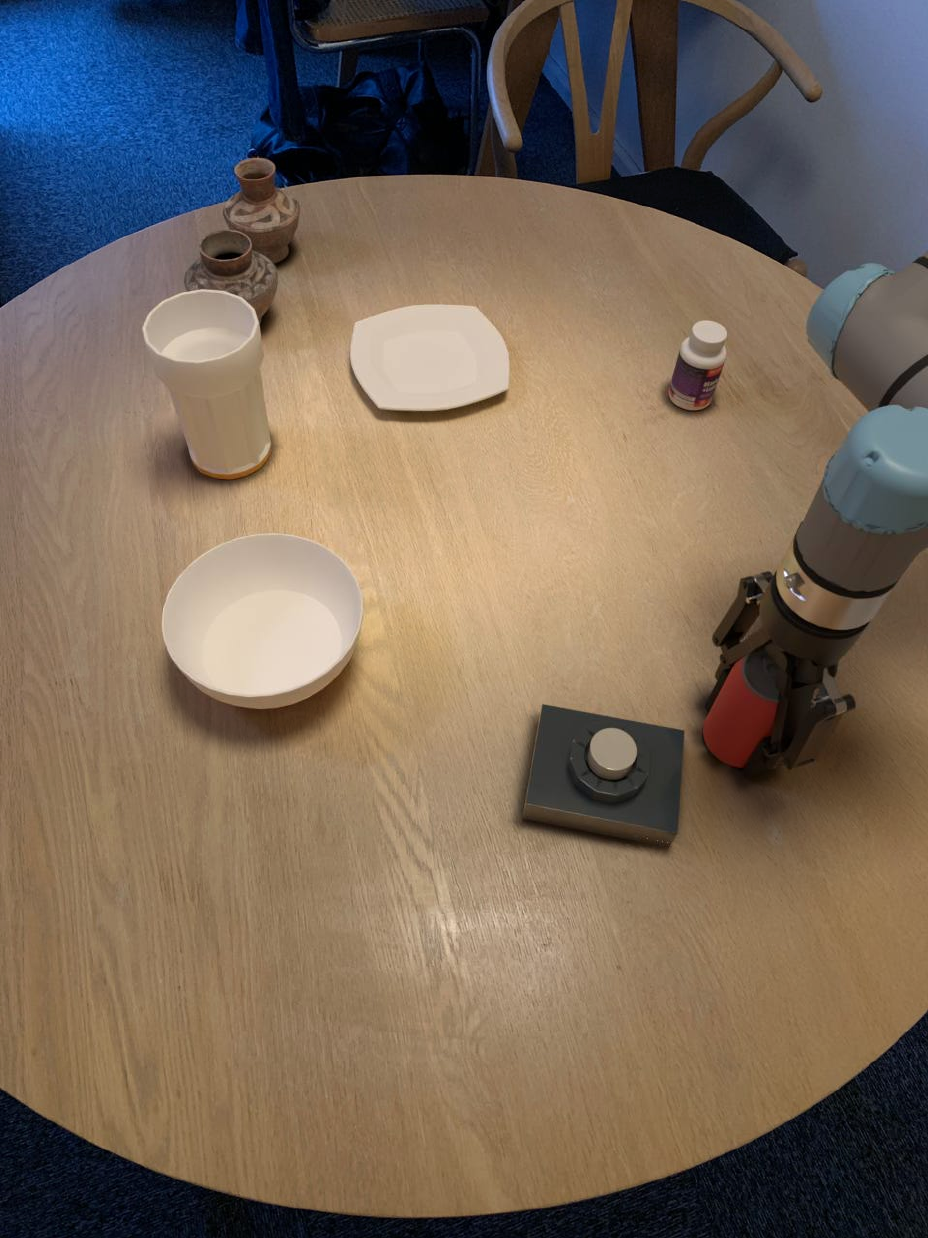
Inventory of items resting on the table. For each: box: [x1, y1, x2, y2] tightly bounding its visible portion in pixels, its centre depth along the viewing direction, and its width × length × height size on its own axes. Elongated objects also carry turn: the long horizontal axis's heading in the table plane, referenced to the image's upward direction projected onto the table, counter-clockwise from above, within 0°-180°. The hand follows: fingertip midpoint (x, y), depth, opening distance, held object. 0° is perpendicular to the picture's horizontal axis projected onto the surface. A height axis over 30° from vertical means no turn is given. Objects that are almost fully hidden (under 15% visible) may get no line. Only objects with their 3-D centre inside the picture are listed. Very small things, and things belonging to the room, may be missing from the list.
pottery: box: [183, 157, 301, 325], centre depth 118 cm, size 11×25×12 cm, turn 173°
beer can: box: [702, 649, 779, 769], centre depth 82 cm, size 7×7×12 cm
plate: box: [349, 304, 511, 412], centre depth 114 cm, size 19×19×2 cm
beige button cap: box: [587, 728, 637, 780], centre depth 80 cm, size 4×4×2 cm
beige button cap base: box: [522, 703, 685, 848], centre depth 82 cm, size 13×10×5 cm
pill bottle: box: [668, 320, 728, 411], centre depth 110 cm, size 5×5×10 cm
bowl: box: [161, 532, 365, 710], centre depth 88 cm, size 18×18×7 cm
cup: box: [141, 289, 273, 480], centre depth 99 cm, size 11×11×17 cm
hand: (737, 737), depth 87 cm, fingers closed on beer can, 6 cm apart
